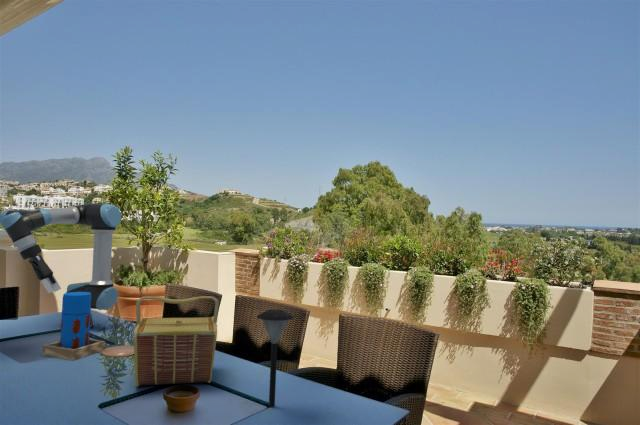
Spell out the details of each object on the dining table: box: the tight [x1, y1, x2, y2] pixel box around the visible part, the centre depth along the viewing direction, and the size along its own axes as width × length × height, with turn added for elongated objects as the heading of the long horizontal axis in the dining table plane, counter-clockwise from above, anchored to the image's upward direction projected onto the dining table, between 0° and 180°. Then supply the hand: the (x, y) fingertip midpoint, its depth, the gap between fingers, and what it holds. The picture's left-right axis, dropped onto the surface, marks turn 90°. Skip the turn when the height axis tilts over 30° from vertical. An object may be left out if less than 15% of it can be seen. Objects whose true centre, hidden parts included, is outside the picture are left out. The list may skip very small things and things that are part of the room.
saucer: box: [101, 345, 134, 358], centre depth 201 cm, size 16×16×1 cm
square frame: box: [42, 338, 106, 361], centre depth 197 cm, size 16×16×4 cm
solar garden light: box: [256, 309, 295, 408], centre depth 148 cm, size 12×12×30 cm
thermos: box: [59, 292, 92, 349], centre depth 197 cm, size 11×11×25 cm
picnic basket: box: [133, 295, 220, 387], centre depth 170 cm, size 29×26×30 cm
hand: (54, 291), depth 198 cm, fingers open, 13 cm apart
